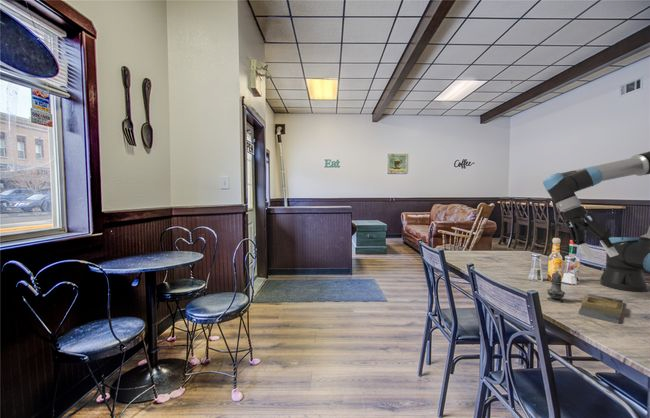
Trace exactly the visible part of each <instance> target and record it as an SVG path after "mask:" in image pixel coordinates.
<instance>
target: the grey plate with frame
mask: <svg viewBox="0 0 650 418" xmlns="http://www.w3.org/2000/svg"><path fill="white" fill-rule="evenodd" d="M623 302H624V301H623V299H617V298H612V297H607V296H601V295H598V294H597V295H596V294H592V293H591V294H590V293H588V294H587V295H584V297H583V299H582V300H581V304H580V308H579V310H578V315H579V314H580V316H583V315H584V317H589V318H592V319H597V320H601V321H606V322H609V323H613V324H618V325H619V323H620V318H621V317H622V313H623Z"/></svg>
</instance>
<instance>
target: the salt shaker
mask: <svg viewBox="0 0 650 418" xmlns="http://www.w3.org/2000/svg"><path fill="white" fill-rule="evenodd" d="M550 284H551V287H550V288H548V289H546V292H547V295H548V296H549V297H548V298H547V300H548V301H549V302H552V303H557V304H558V303H559V304H561V303H562V304H563V303H565V301H564V300H563V298H564V297H565V295H566V292H564V291H563V290H562V285H563V282H562V275H561V274H560V273H559V272H558V271H555V272H554V273H552V274H551V281H550Z"/></svg>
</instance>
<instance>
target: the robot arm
mask: <svg viewBox="0 0 650 418" xmlns="http://www.w3.org/2000/svg"><path fill="white" fill-rule="evenodd" d="M634 175H635V176H640V177H641V176H647V175H650V151H647V152H643V153H639V154H635V155H632V156H631V157H630V158H626V159H620V160H616V161H612V162H607V163H602V164H598V165H592V166H588V167H584V168H583V167H582V168H579V169H574V170H569V171H565V172H558V173H554V174H551V175H550V176H549V177H547V178H546V179H544V180H543V181H542V185H543V187H544V188H545V189H546V192H547V193H548V194H549V196H550V197H551V199H552V201H553V202H554V205H556V208H557V209H558V210H559V211H560V213H561V212H562V213H561V215H562V217H563V219H564V220H565V222H566V221H567V223H566V225H567V227H568V231H569V234H570V237H571V240H572V243H573V244H574V245H577V246H579V248H580V250H581V252H582V253H583V255H584V256H585V258H586V259H587V261H588V260H593V259H594V258H596V255H595V254H594V253H593V251H592V249H591V247H590V246H589V245H588V243H587V241H586V240H585V235H584V234H585V233H584V231H587V232H588V233H590V234H592V235H593V236H595V237H596V238H597V239H598V242H599V243H600V244H601V246H602V247H603V249H604V250H605V252H606V254H605V255H606V256H605V257H606V260H605V269H604V271H603V272H602V274H601V276H600V280H599V284H601V285H602V286H605V287H607V288H612V289H616V290H622V291H629V292H636V293H637V292H640V293H641V292H647V291H648V284H647V282H646V279H645V277H644V274H643V270H644V271H647V272H649V273H650V225H649V226H648V229H647V233H645V234H643V235H640V236H639V237H621V236H618V237H617V236H612V233H611V232H610V231H609V230H608V229H606V228H605V226H603V225H602V224H601V223H600V222H598V221H597V220H596V219H595V217H594V216H593V214H592V215H591V214H590V215H587V214H588V212H587V210H586V208H585V207H584V206H583V205H582V202H581V200H580V199H579V198H578V196H577V195H576V193H577V192H579V191H580V192H581V191H582V190H585V189H588V188H592V187H594V186H596V185H598V184H600V183H601V182H605V181H610V180H615V179H618V178H624V177H625V178H626V177H630V176H634ZM586 215H587V216H586ZM568 221H570V222H568Z"/></svg>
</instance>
